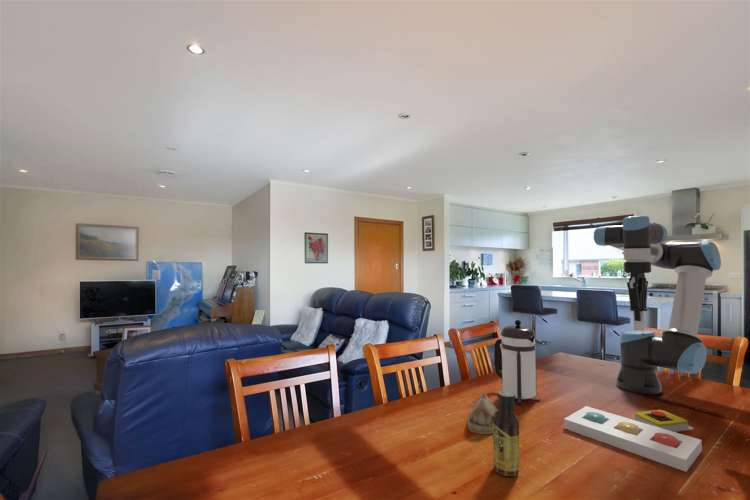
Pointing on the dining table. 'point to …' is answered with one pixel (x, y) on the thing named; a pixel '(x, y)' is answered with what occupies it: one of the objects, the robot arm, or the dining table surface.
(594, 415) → the teal button
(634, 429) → the ochre button
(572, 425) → the button panel
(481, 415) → the ceramic model
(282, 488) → the dining table surface
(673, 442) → the red button
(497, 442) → the sauce bottle
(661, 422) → the emergency button
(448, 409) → the dining table surface
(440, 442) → the dining table surface
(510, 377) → the coffee press
